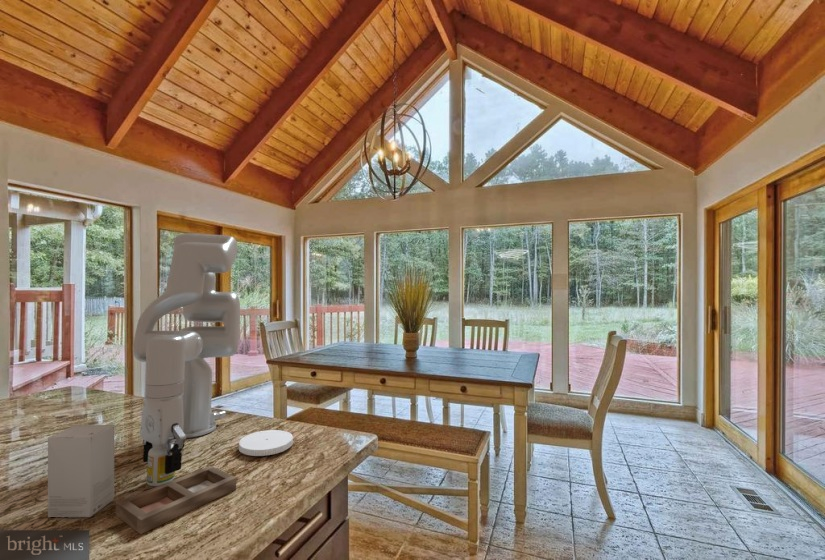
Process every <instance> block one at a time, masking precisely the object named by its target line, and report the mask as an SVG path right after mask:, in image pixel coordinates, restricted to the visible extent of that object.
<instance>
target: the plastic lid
mask: <svg viewBox="0 0 825 560" xmlns="http://www.w3.org/2000/svg"><path fill="white" fill-rule="evenodd" d="M293 444H294V436H293V434H292V433H291V432H289V431H286V430H278V429H268V430H267V429H266V430H261V431H255V432H252V433H249V434H247V435H245V436H243V437H242V438H241V439H240V440H239V442H238V451H239V452H240V453H241V454H243V455H244V456H246V455H247V456H253V457H264V456H270V455H276V454H279V453H282V452H285V451H287V450H288V449H290V448H291V447H292V446H293Z"/></svg>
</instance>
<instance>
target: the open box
mask: <svg viewBox="0 0 825 560" xmlns="http://www.w3.org/2000/svg"><path fill="white" fill-rule="evenodd" d="M236 490H237V476H234V475H231V474H230V473H227V472H225V471H223V470H221V469H219V468H217V467H214V466H212V465H208V466H206V467H204V468H203V467H202V468H200V469H198V470H195V471H193V472H190V473H188V474H185V475H183V476H180V477H178V478H174V479H173V480H172V481H170V482H167V483H165V484H162V485H160V486H153V487H152V488H149V489H148V490H145V491H144V490H143V491H142V492H140V493H137V494H135V495H132V496H130V497H127V498H124V499H121V500H119V501H116V504H115V505H116V506H115V516H116V517H117V518H119V520H120V521H122V522H124V523H125V524H127V526H129V527H130V528H132V529H133V530H134V531H135V532H137V533H138V534H139V535H142V534H145V533H147V532H148V531H150V530H153V529H155V528H158V527H159V526H161V525H163V524H165V523H167V522H170V521H171V520H174V519H176V518H179V517H180V516H182V515H184V514H185V515H186V514H187V513H189V512H190V511H194V510H195V509H197V508H200V507H201V506H204V505H206V504H208V503H210V502H212V501H214V500H217V499H218V498H220V497H223V496H225V495H226V494H229V493H231V492H232V491H236Z"/></svg>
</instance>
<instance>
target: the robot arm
mask: <svg viewBox="0 0 825 560" xmlns="http://www.w3.org/2000/svg"><path fill="white" fill-rule="evenodd" d="M238 249H239V248H238V242H237V240H236V239H235V237H233V236H232V235H226V234H225V235H224V234H208V233H197V232H195V233H194V232H192V233H186V232H185V233H181V234H178V235H176V236H175V237H174V239H173V253H172V257H171V262H170V268H169V271H168V277H167V282H166V288H165V291H164V292H163V293H162V294H161V295H159V296H158V297H156V298H155V299H154V300H153V301H152V302H151V303H149V305H148V306H147V307H146V308H145V309H144V310H143V312H142V313H141V314H140V316H139V318H138V320H137V324H136V327H135V328H136V329H135V332H134V338H133V343H132V355H133V357H134V358H135V359H136V360H138V361H139V362H142V363H145V371H144V372H145V375H144V397H143V398H144V400H143V404H142V409H141V411H142V412H141V419H140V420H141V421H140V428H139V429H140V433H139V436H140V438H141V439H142V443H143V453H142V456H143V457H142V462H143V463H148V452H149V450H150V449H151V448H153V446H152V444H154V445H156V446H159V447H160V446H163V444H164V445H165V448H166V451H167V455H166V456H165V474H169V473H172V472H175V473H176V472H177V471H179V470H181V469H182V457H183V456H182V453H183V452H184V448H185V446H186V445H185V443H186V440H187V439H188V438H196V437H201V436H205V435H207V434H209V433H212V432H213V431H215V430H216V429H217V423H216V421H217V419H221V418H222V419H223V418H225V417H226V416H227V413H226V412H227V411H225V410H223V411H212V393H213V370H212V367H211V365H210V364H209V363H208V361H206V359H208V358H228V357H229V358H230V357H233V356H235V355H236V354H237V352H238V350H239V342H240V322H241V321H240V319H241V303H240V298H239V296H238V294H236V293H234V292H230V291H216V282H217V277H216V274H226V273H229V272H230V270H231V269H232V267H233V264H234V262H235V260H236V258H237V255H238ZM181 308H182V315H183V318H184V319H185V320H186V321H188V322H195V323H222V324H223V326H219V325H218V326H209V325H207V326H206V325H204V326H203V325H199V326H195V325H194V326H186V327H183V328H181V329H179V330H154V328H155V325H156V323H158V322H159V320H160V319H162V317H164V316H165V315H168V314H170V313H171V312H173V311H176V310H178V309H181ZM171 438H173V439H172V440H169V439H171ZM168 440H169V441H168ZM170 444H173V445H174V446H173V447H172V449H171V446H170Z"/></svg>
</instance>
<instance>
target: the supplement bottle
mask: <svg viewBox="0 0 825 560" xmlns="http://www.w3.org/2000/svg"><path fill="white" fill-rule="evenodd" d="M172 439H173V438H171V439H169V440H172ZM169 440H168V441H169ZM174 445H175V444H174V443H173V444H170V446H171V449H172V447H173V446H174ZM152 446H153V448H151V449H150V450H149V452H148V462H147V467H146V469H147V471H146V484H147V485H148V486H150V487H157V486H160V485H162V484H165V483H167V482H170V481H172V480H175V479H176V478H175V477H176V471H175V472H172V473H169V474H165V456H166V455H167V451H166V448H165V445H164V444H163V446H160V447H159V446H156V445H154V444H152Z"/></svg>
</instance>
